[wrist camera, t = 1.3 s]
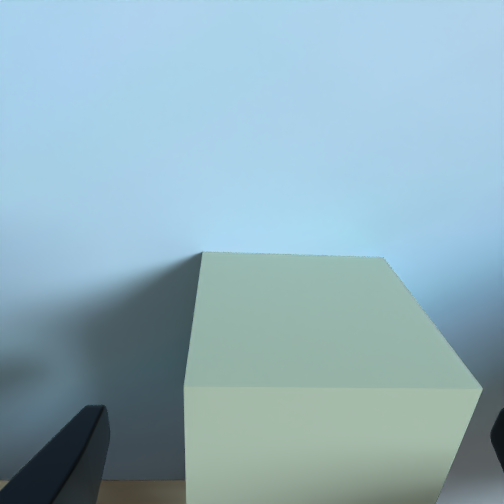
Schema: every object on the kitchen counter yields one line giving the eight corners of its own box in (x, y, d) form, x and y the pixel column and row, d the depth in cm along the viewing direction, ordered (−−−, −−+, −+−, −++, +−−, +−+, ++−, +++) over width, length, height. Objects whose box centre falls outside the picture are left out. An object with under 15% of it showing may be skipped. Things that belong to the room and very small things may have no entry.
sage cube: (382, 255, 11) (483, 389, 7) (352, 389, 13) (413, 556, 9) (203, 250, 11) (183, 386, 6) (201, 388, 13) (187, 562, 9)
